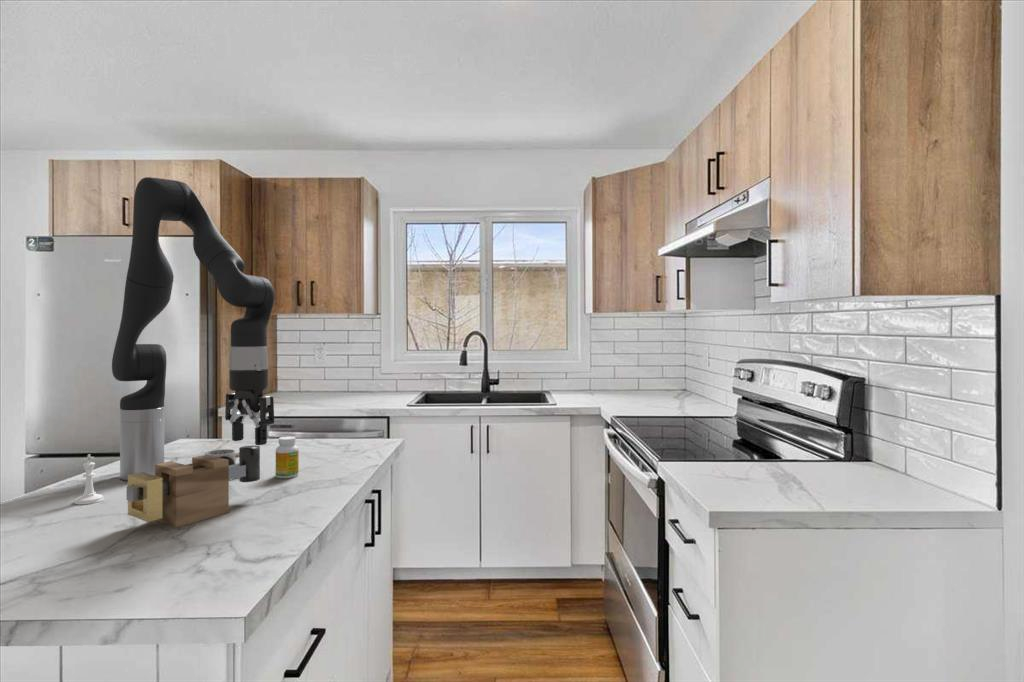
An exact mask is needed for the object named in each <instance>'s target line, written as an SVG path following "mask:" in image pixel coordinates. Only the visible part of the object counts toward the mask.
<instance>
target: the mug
mask: <svg viewBox="0 0 1024 682" xmlns="http://www.w3.org/2000/svg"><path fill="white" fill-rule="evenodd" d="M204 455H210V456H215V457H219V458H223V459H228V460H229V465H234V464H236V459H237V458H239V452H236V450H235V449H231V448H230V449H229V448H228V449H227V448H224V449H223V448H222V449H213V450H210V451H206V452H205V453H204ZM232 480H233V479H231V480H230V481H232Z"/></svg>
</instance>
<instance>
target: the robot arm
mask: <svg viewBox="0 0 1024 682" xmlns="http://www.w3.org/2000/svg"><path fill="white" fill-rule="evenodd" d="M132 216H133V217H132V220H133V221H132V240H131V247H130V248H131V249H130V255H129V262H128V268H127V272H126V278H125V285H124V296H123V304H122V311H121V312H122V313H121V320H120V323H119V329H118V333H117V338H116V340H115V344H114V347H113V354H112V358H111V373H112V376H113V378H114V379H115V380H116V381H119V382H139V381H140V382H141V381H146V384H145V385H144V386H143V387H142V388H140V389H138V390H137V391H135V392H133V393H129V394H127V395H124V396H123V397H120V401H119V459H120V460H119V478H120V479H121V480H122V481H123V480H124V481H128V475H130V474H135V473H141V472H144V473H148V474H151V475H154V476H155V464H159V463H165V399H166V398H165V397H166V377H167V353H166V350H165V349H164V347H163V345H161V344H158V343H138V342H137V341H138V340H139V337H140V336H141V334H142V333H143V331H144V330H145V329H146V327H147V326H148V325H149V324H150V323H151V322H152V321H153V320H154V319H156V318H157V317H158V316H159V314H161V313H162V312H163V311H164V310H165V308H166V307H167V306H168V304H169V302H170V300H171V296H172V291H173V285H174V279H175V277H174V272H173V269H172V266H171V264H170V262H169V260H168V259H167V257H166V255H165V253H164V251H163V250H162V248H161V244H160V241H159V238H160V237H159V235H160V234H159V232H160V224H161V221H167V222H181V223H182V224H185V225H186V227H188V228H189V229H190V230H191V232H192V233H193V236H192V237H193V238H192V247H193V251H194V254H195V256H196V258H197V259H198V261H199V262H200V263H201V264H202V266H204V268H205V269H206V271H208V272H209V274H210V275H212V277H213V280H214V283H215V285H216V287H217V290H218V292H219V294H220V296H221V297H222V299H223V300H224V301H225V302H226V303H228V305H231V306H233V307H235V308H236V307H237V308H245V312H244V315H243V317H242V318H237V319H235V320H233V321H232V322H231V325H230V352H229V357H228V358H229V359H228V360H229V361H228V363H229V364H228V365H229V366H228V367H229V374H228V375H229V377H228V378H229V385H228V386H229V387H228V388H229V389H230V390H231V391H234V392H227V393H226V394H225V411H224V413H225V416H224V417H225V420H226V421H229V423H230V424H231V440H232V441H233V442H239V441H243V440H244V420H245V418H246V416H248V417H249V419H251V420H252V421H253V423H254V425H255V427H254V437H255V438H254V444H255V446H263V445H266V444H267V442H268V426H270V425H273V424H274V423H275V409H274V407H275V406H274V403H275V402H274V401H275V400H274V396H273V395H264V390H266V389H268V388H269V356H268V355H269V354H268V348H267V346H268V345H267V340H268V339H267V338H268V337H267V336H268V335H267V334H268V333H267V329H268V328H267V327H268V324H269V321H270V318H271V313H272V310H273V307H274V306H273V305H274V302H275V291H274V287H273V285H272V283H271V281H270V280H269V279H268V278H265V277H263V276H260V275H259V276H258V275H251V274H245V273H244V271H245V267H246V265H245V263H244V260H243V259H242V257H240V255H239V254H238V252H237V251H236V250H235V249H234V248H233V247H232V245H230V244H229V243H228V241H227V240H226V239H225V238H224V237H223V236H222V234H221V233H220V232H219V230H218V228H217V227H216V225H215V224H214V222H213V220H212V218H211V217H210V215H209V214H208V211H207V210H206V208H205V207H204V205H203V203H202V201H201V200H200V199H199V197H198V195H197V194H196V192H195V191H194V190H193V188H192V187H191V186H189V185H188V184H187V183H185V182H183V181H180V180H174V179H167V178H159V177H158V178H157V177H151V176H150V177H143V178H141V179H140V180H139V181H138V183H137V184H136V187H135V190H134V198H133V214H132ZM267 415H268V417H267Z"/></svg>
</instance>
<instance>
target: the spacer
mask: <svg viewBox="0 0 1024 682" xmlns="http://www.w3.org/2000/svg"><path fill="white" fill-rule="evenodd" d="M132 485H136V486H139V487H142V488H143V500H140V501H135V502H131V501H129V500H127V516H131V517H133V518H136V519H138V520H142V521H143V522H146V523H149V522H153V521H158V520H157V519H161V518H162V478H161V477H158V476H154V475H151V474H148V473H144V472H141V473H135V474H130V475H128V480H127V486H132Z"/></svg>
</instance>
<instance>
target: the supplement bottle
mask: <svg viewBox="0 0 1024 682" xmlns="http://www.w3.org/2000/svg"><path fill="white" fill-rule="evenodd" d="M296 441H297V440H296V436H282V437H279V438H278V445H279V446H277V447H276V449H275V477H276V478H277V479H292V478H295V477H297V476H298V475H299V465H300V464H299V460H300V459H299V458H300V457H299V455H300V454H299V451H300V450H299V447H298V445H296V443H297V442H296Z"/></svg>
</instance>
